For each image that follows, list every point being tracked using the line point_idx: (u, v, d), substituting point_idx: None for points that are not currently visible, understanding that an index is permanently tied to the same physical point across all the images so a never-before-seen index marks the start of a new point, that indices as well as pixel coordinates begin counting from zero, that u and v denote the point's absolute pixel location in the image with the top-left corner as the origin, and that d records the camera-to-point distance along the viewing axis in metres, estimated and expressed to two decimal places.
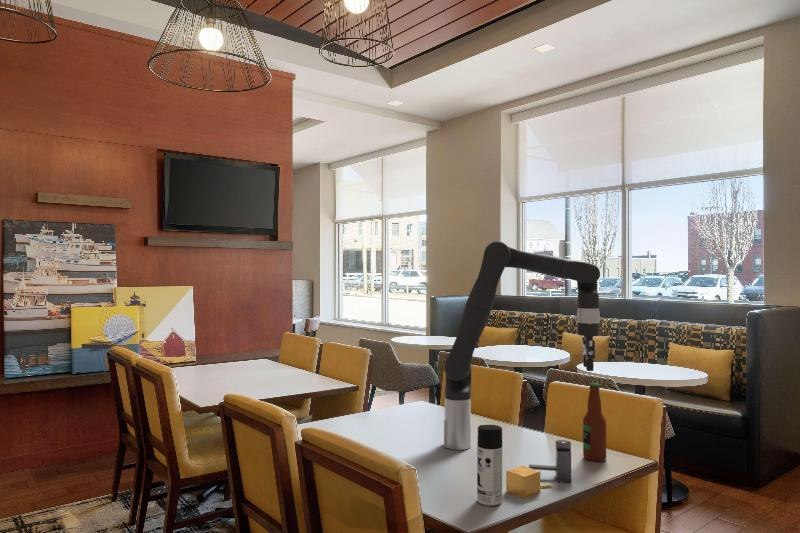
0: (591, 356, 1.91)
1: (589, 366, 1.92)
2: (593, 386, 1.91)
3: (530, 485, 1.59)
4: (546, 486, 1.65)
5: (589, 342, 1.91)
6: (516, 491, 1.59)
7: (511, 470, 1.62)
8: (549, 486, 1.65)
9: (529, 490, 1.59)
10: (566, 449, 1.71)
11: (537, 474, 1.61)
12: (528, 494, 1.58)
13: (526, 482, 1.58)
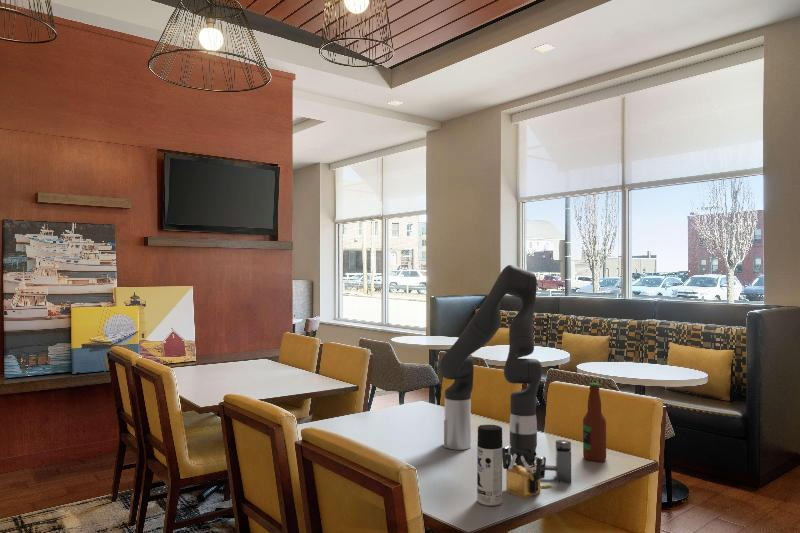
0: None
1: None
2: (593, 386, 1.91)
3: None
4: (546, 486, 1.65)
5: None
6: (516, 491, 1.59)
7: (511, 470, 1.62)
8: (549, 486, 1.65)
9: (529, 490, 1.59)
10: (566, 449, 1.71)
11: None
12: (528, 494, 1.58)
13: (526, 482, 1.58)
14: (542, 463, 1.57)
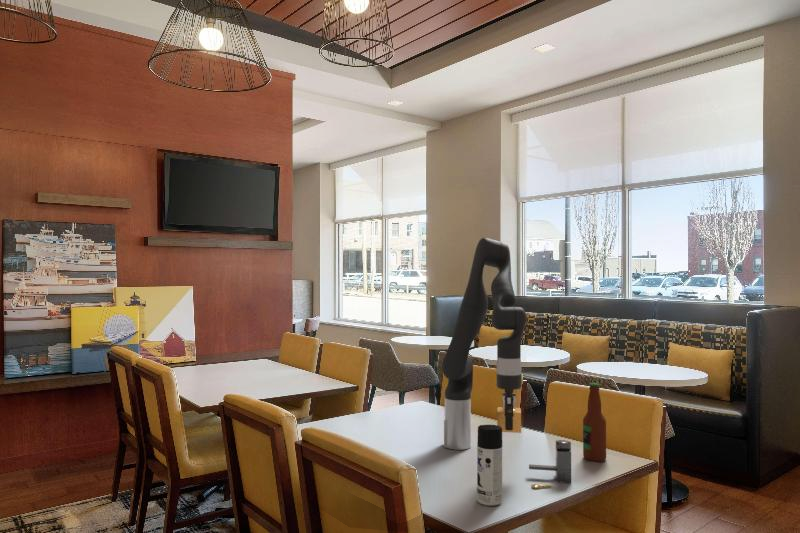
0: None
1: None
2: (593, 386, 1.91)
3: None
4: (546, 486, 1.65)
5: None
6: None
7: (501, 407, 1.79)
8: (549, 486, 1.65)
9: (504, 426, 1.73)
10: (566, 449, 1.71)
11: (516, 414, 1.72)
12: (503, 429, 1.73)
13: (500, 417, 1.73)
14: (508, 402, 1.70)
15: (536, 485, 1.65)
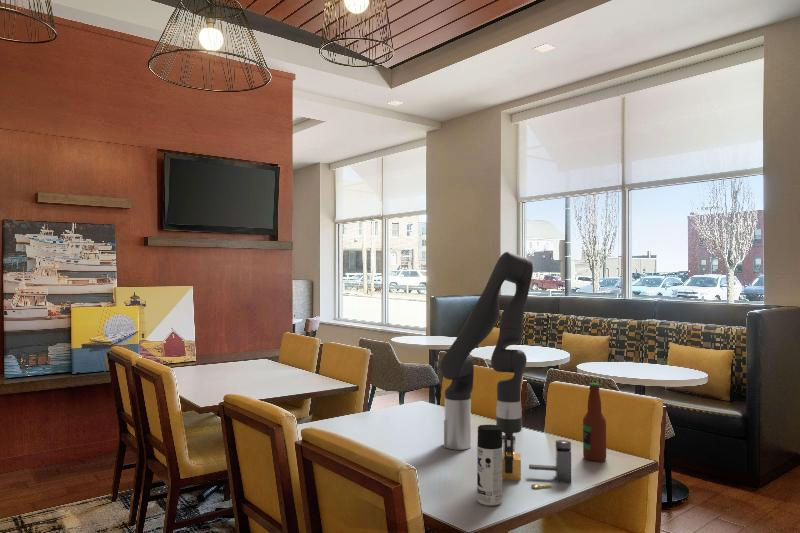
0: None
1: None
2: (593, 386, 1.91)
3: None
4: (546, 486, 1.65)
5: None
6: None
7: None
8: (549, 486, 1.65)
9: (504, 473, 1.73)
10: (566, 449, 1.71)
11: (516, 461, 1.72)
12: (502, 476, 1.73)
13: None
14: (507, 444, 1.69)
15: (536, 485, 1.65)
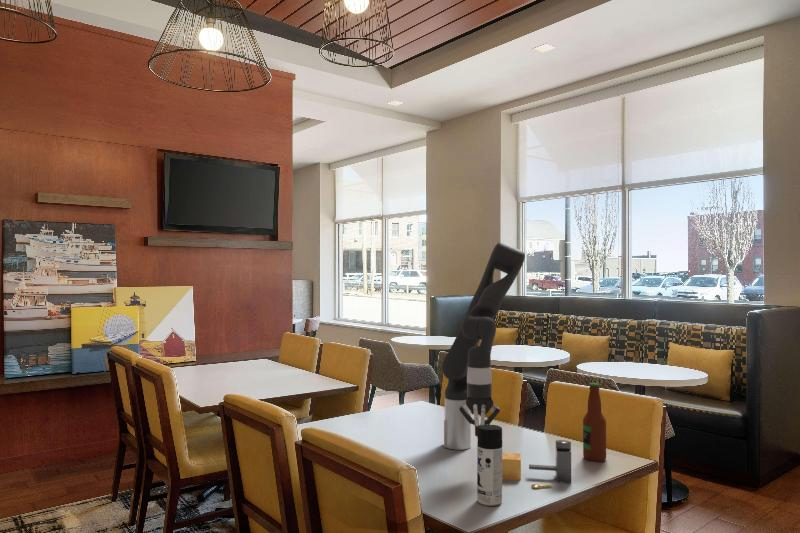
0: None
1: None
2: (593, 386, 1.91)
3: (506, 469, 1.73)
4: (546, 486, 1.65)
5: None
6: None
7: None
8: (549, 486, 1.65)
9: (504, 473, 1.73)
10: (566, 449, 1.71)
11: (516, 461, 1.72)
12: (502, 476, 1.73)
13: None
14: None
15: (536, 485, 1.65)
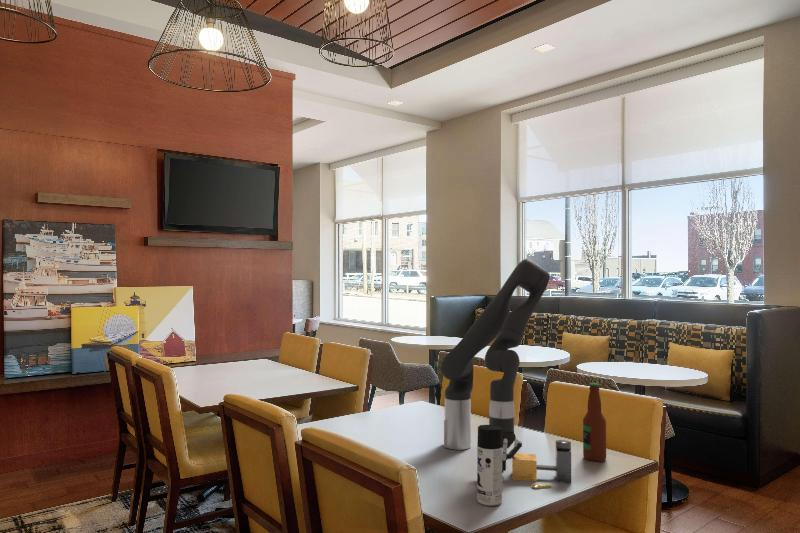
0: None
1: None
2: (593, 386, 1.91)
3: (522, 470, 1.71)
4: (546, 486, 1.65)
5: None
6: None
7: (516, 454, 1.77)
8: (549, 486, 1.65)
9: (519, 474, 1.71)
10: (566, 449, 1.71)
11: (532, 462, 1.71)
12: (518, 477, 1.72)
13: (515, 465, 1.72)
14: None
15: (536, 485, 1.65)
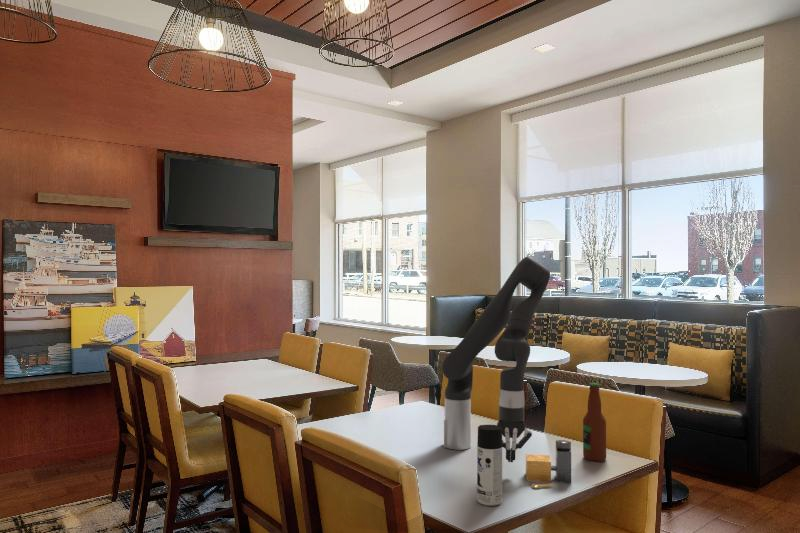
0: None
1: None
2: (593, 386, 1.91)
3: (536, 471, 1.71)
4: (546, 486, 1.65)
5: (531, 435, 1.74)
6: (526, 473, 1.74)
7: (529, 455, 1.77)
8: (549, 486, 1.65)
9: (534, 475, 1.71)
10: (566, 449, 1.71)
11: (546, 463, 1.70)
12: (532, 478, 1.71)
13: (529, 466, 1.71)
14: None
15: (536, 485, 1.65)
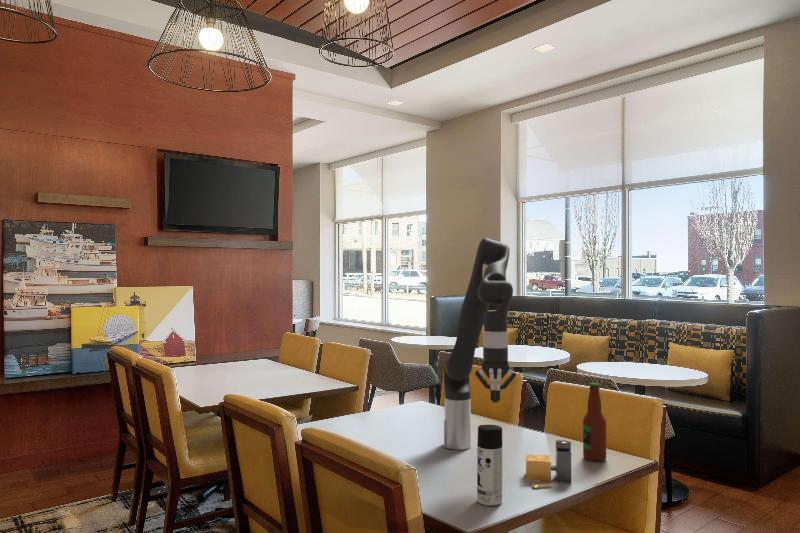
0: None
1: None
2: (593, 386, 1.91)
3: (536, 471, 1.71)
4: (546, 486, 1.65)
5: (515, 375, 1.75)
6: (526, 473, 1.74)
7: (529, 455, 1.77)
8: (549, 486, 1.65)
9: (534, 475, 1.71)
10: (566, 449, 1.71)
11: (546, 463, 1.70)
12: (532, 478, 1.71)
13: (529, 466, 1.71)
14: None
15: (536, 485, 1.65)
